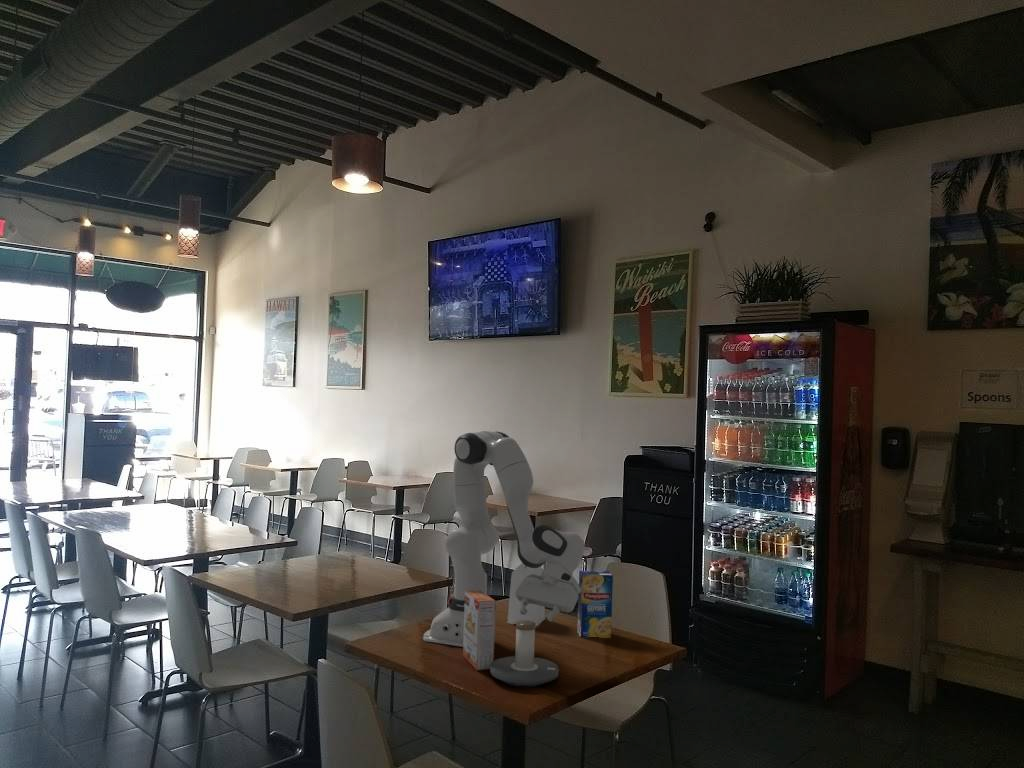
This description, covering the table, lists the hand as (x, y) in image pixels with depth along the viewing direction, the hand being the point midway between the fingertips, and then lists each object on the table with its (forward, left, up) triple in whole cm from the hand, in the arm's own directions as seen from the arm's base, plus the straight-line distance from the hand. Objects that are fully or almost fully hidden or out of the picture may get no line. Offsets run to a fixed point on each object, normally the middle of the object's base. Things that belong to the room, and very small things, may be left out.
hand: (534, 616), depth 227 cm
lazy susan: (-2, -4, -15) cm, 16 cm away
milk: (-10, +59, -17) cm, 62 cm away
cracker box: (-18, +6, -17) cm, 26 cm away
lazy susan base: (-2, -4, -17) cm, 18 cm away
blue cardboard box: (+16, +48, -17) cm, 53 cm away
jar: (-2, -4, -13) cm, 14 cm away
